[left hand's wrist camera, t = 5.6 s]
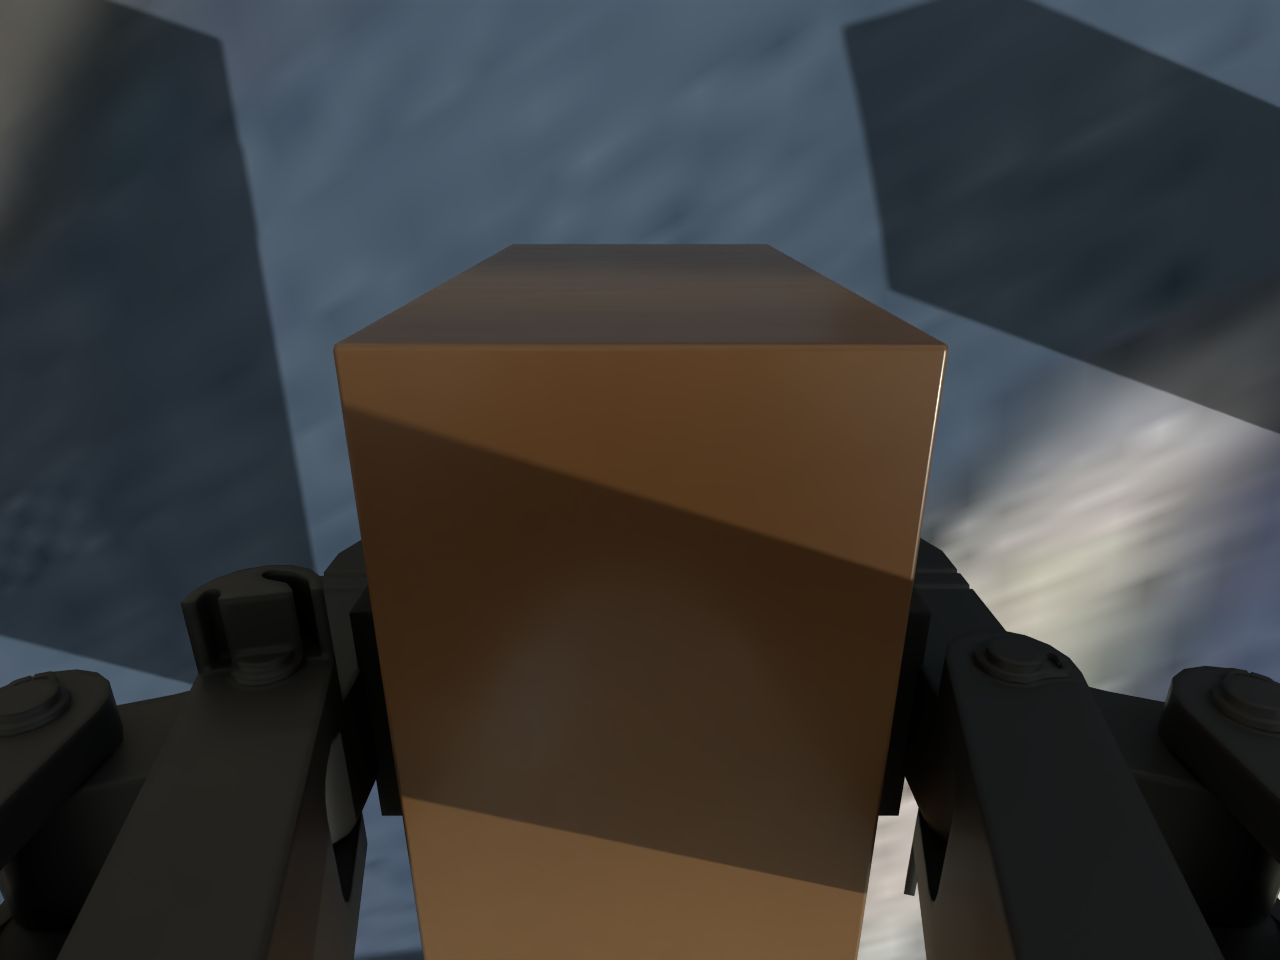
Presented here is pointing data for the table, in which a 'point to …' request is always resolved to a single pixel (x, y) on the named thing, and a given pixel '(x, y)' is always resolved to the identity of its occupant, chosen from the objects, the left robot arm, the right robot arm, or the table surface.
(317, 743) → the left robot arm
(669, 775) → the bar
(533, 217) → the table surface
